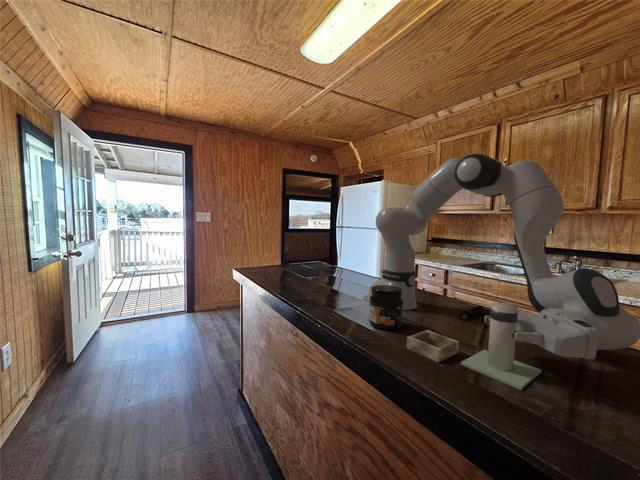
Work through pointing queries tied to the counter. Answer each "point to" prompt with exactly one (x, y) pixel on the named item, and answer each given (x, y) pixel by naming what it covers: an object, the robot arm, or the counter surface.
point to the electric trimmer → (471, 313)
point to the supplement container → (386, 307)
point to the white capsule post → (502, 336)
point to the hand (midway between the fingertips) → (498, 327)
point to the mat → (514, 378)
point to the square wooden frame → (420, 345)
